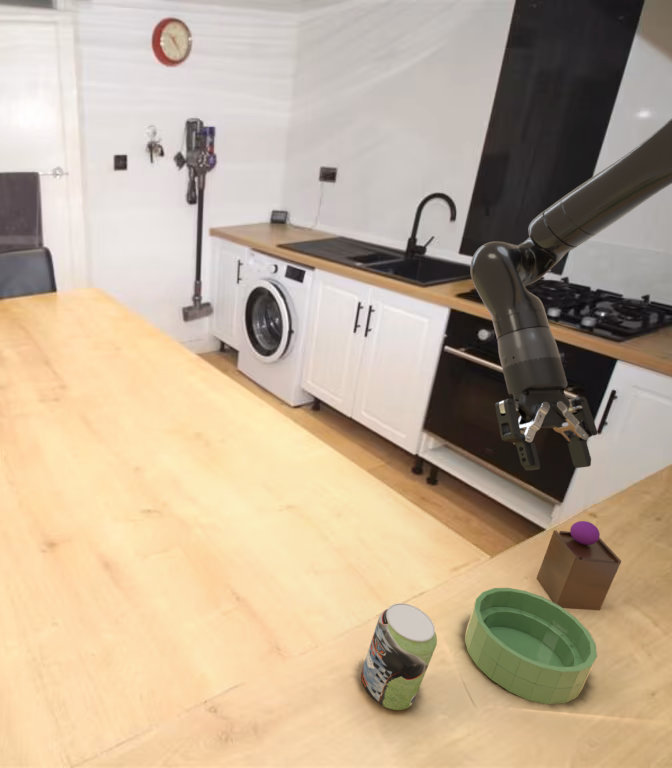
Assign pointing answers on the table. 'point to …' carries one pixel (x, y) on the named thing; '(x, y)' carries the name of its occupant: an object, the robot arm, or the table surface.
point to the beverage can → (398, 656)
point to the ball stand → (577, 572)
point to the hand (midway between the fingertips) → (558, 468)
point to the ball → (584, 533)
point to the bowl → (530, 645)
